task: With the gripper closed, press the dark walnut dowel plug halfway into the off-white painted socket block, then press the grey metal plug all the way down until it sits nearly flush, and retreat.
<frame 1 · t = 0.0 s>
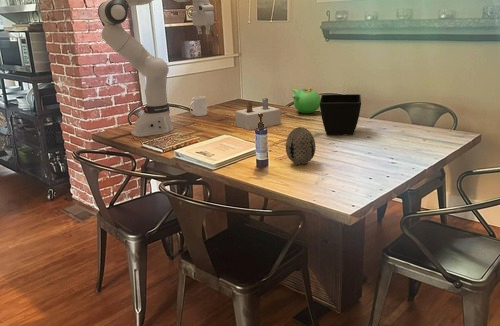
hand: (203, 34, 247), 48 cm above the table, fingers open, 8 cm apart
mug: (198, 115, 279), on the table
green teapot: (306, 113, 268), on the table
socket block: (258, 124, 247), on the table
metal plug: (265, 107, 247), point 9 cm above the table, slide at 0.0 cm
flower pot: (340, 132, 224), on the table
walnut plug: (249, 110, 242), point 9 cm above the table, slide at 0.0 cm
decorative egg: (300, 164, 182), on the table
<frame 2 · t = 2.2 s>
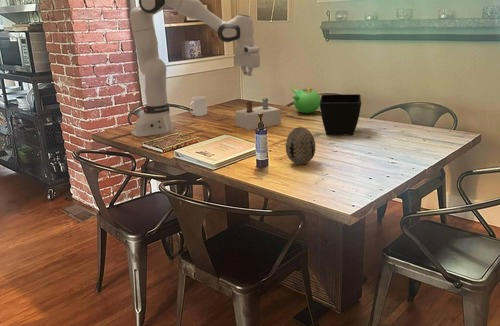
hand: (247, 75, 236), 27 cm above the table, fingers open, 3 cm apart
nothing on the table moved.
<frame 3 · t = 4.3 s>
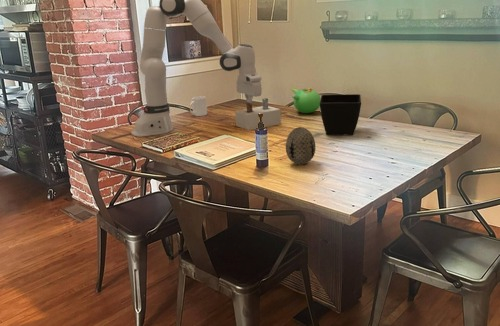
hand: (249, 102, 241), 13 cm above the table, fingers closed, pressing on walnut plug
walnut plug: (249, 111, 242), point 8 cm above the table, slide at 0.6 cm, touching gripper
everything else where it was.
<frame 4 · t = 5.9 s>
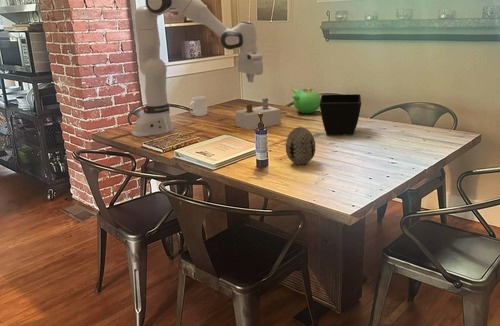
hand: (250, 82, 238), 23 cm above the table, fingers closed
walnut plug: (249, 113, 243), point 7 cm above the table, slide at 1.9 cm
everything else where it was.
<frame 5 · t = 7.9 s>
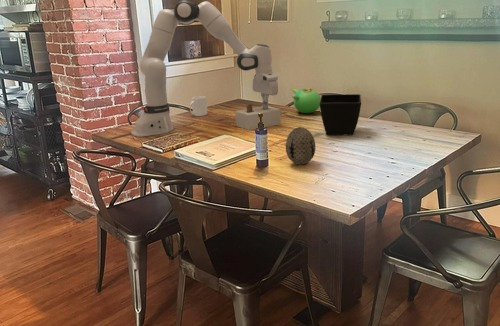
hand: (265, 101, 246), 12 cm above the table, fingers closed, pressing on metal plug
metal plug: (265, 109, 247), point 7 cm above the table, slide at 1.5 cm, touching gripper
everything else where it was.
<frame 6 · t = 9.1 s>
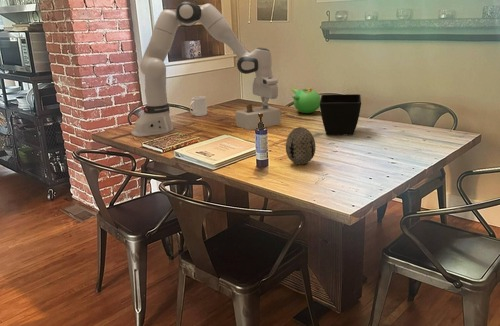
hand: (265, 104, 246), 10 cm above the table, fingers closed
metal plug: (265, 114, 248), point 5 cm above the table, slide at 3.8 cm
everything else where it was.
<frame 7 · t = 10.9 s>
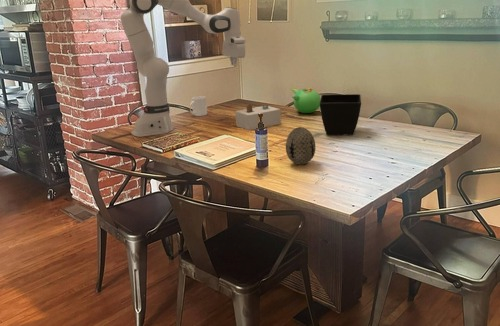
hand: (233, 65, 250), 31 cm above the table, fingers closed
nothing on the table moved.
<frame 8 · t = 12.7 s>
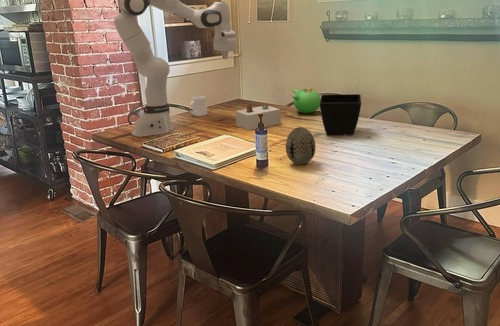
hand: (225, 59, 252), 34 cm above the table, fingers closed
nothing on the table moved.
at the end: metal plug slide at 3.8 cm; walnut plug slide at 1.9 cm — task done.
